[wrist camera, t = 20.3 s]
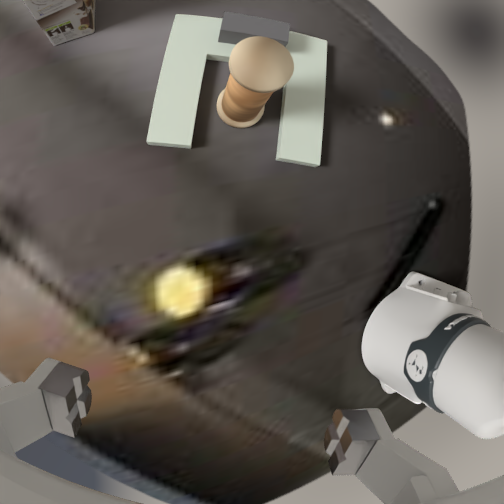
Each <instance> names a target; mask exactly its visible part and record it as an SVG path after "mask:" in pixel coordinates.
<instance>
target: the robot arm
mask: <svg viewBox="0 0 504 504" xmlns="http://www.w3.org/2000/svg"><path fill="white" fill-rule="evenodd" d="M419 281H420V284H419ZM362 357H363V360H364V363H365V365H366V367H367V369H368V370H369V371H370V372H371V373H372V374H373V375H374V376H376V377H377V378H378V379H379V380H380V383H381V386H382V388H383V390H384V391H385V392H387V393H394V392H397V393H399V394H401V395H402V396H404V397H406V398H407V399H409V400H411V401H412V402H414V403H416V404H420V403H422V402H423V403H424V404H425V405H426V406H428V407H429V408H431V409H434V410H435V411H437V412H439V413H445V414H447V415H448V416H449V417H451V418H452V419H454V420H455V421H456V422H458V423H459V424H460V425H462V426H463V427H465V428H466V429H467V430H469V431H470V432H472V433H473V434H474V435H476V436H477V437H479V438H482V439H492V438H496V437H499V436H501V435H503V434H504V332H503V331H501V330H498V329H495V328H492V327H491V326H490V325H489V324H488V323H487V322H486V321H484V320H483V315H482V312H481V310H479V309H476V308H473V307H472V298H471V295H470V293H468V292H466V291H464V290H462V289H459V288H457V287H454V286H451V285H449V284H446V283H444V282H441V281H438V280H436V279H433V278H431V277H428V276H425V275H423V274H420V273H417V272H414V271H413V272H410V273H409V274H408V275H407V276H406V278H405V279H404V281H403V282H402V284H401V285H400V287H399V288H398V289H396V290H395V291H394V292H392V293H391V294H389V295H388V296H387V297H386V298H384V299H383V300H382V301H381V302H380V303H379V305H378V306H377V307H376V308H375V310H374V311H373V313H372V314H371V316H370V318H369V320H368V322H367V325H366V327H365V330H364V334H363V338H362ZM89 381H90V379H89V373H88V371H86V370H84V369H81V368H78V367H75V366H72V365H69V364H66V363H63V362H60V361H57V360H54V359H51V358H46V359H45V360H44V361H43V362H42V363H41V365H40V366H39V367H38V368H37V369H36V370H35V371H34V372H33V374H32V375H31V376H30V377H29V378H28V379H27V381H26V382H25V383H24V382H18V383H15V384H12V385H8V386H5V387H2V388H0V504H142V503H138V502H133V501H130V500H126V499H122V498H119V497H115V496H112V495H108V494H105V493H102V492H99V491H96V490H92V489H90V488H87V487H83V486H81V485H78V484H76V483H73V482H70V481H67V480H65V479H62V478H60V477H57V476H55V475H52V474H50V473H48V472H45V471H43V470H41V469H39V468H37V467H34V466H32V465H30V464H28V463H26V462H24V461H22V460H20V459H18V458H17V456H16V454H15V452H16V451H18V450H20V449H22V448H24V447H25V446H27V445H29V444H31V443H33V442H34V441H36V440H38V439H40V438H41V437H43V436H45V435H47V434H48V433H50V432H52V430H54V431H57V432H60V433H63V434H66V435H68V436H71V437H75V436H76V434H77V432H78V430H79V429H80V427H81V425H82V423H81V418H83V417H85V416H87V414H88V412H89V410H90V406H91V399H92V395H91V390H90V388H89V387H88V386H87V384H88V382H89ZM332 418H333V422H334V423H332V424H331V425H329V426H328V428H327V430H326V432H325V438H324V446H325V450H326V452H327V453H328V454H329V455H330V456H331V457H330V459H329V461H328V462H329V465H330V469H331V473H332V475H356V477H357V478H358V479H359V480H360V481H361V482H362V483H363V484H364V485H365V486H366V487H367V488H368V489H369V490H370V491H371V492H372V493H373V494H375V495H376V496H377V497H378V498H379V499H380V500H381V501H382V502H383V503H384V504H504V475H502V476H500V477H498V478H495V479H493V480H490V481H488V482H485V483H483V484H480V485H477V486H475V487H473V488H469V489H466V490H463V491H461V492H459V490H458V488H457V486H456V485H455V483H454V481H453V480H452V477H451V476H450V474H449V472H448V471H447V469H446V468H444V467H443V466H441V465H439V464H437V463H436V462H435V461H433V460H431V459H430V458H428V457H426V456H425V455H423V454H422V453H420V452H419V451H417V450H415V449H414V448H412V447H411V446H409V445H408V444H406V443H404V442H403V441H401V440H400V439H395V438H394V436H393V434H392V432H391V430H390V428H389V426H388V424H387V422H386V420H385V419H384V417H383V415H382V413H381V411H380V410H379V409H378V408H369V409H337V410H336V411H335V412H334V414H333V417H332Z"/></svg>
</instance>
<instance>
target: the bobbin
mask: <svg viewBox="0 0 504 504" xmlns="http://www.w3.org/2000/svg"><path fill="white" fill-rule="evenodd" d="M229 69H230V72H231V73H230V76H229V79H228V82H227V86H226V88H225V89H224V90H223V91H222V92H221V93H220V95H219V97H218V100H217V112H218V115H219V117H220V118H221V119H222V120H223V121H224V122H225V123H226V124H228V125H229V126H231V127H235V128H247V127H250V126H252V125H254V124H256V123H257V122H258V121H259V119H260V118H261V117H262V115H263V113H264V108H265V103H266V102H267V101H268V99H269V98H270V96H271V95H272V93H273V92H274V91H277V90H279V89H281V88H282V87H284V86H285V85H286V84H287V82H288V81H289V80H290V78H291V77H292V75H293V72H294V62H293V58H292V56H291V54H290V52H289V51H288V50H287V49H286V48H285V47H284V46H283V45H282V44H281V43H279V42H278V41H276V40H274V39H271V38H267V37H262V36H254V37H249V38H246V39H244V40H242V41H240V42H239V43H237V44H236V45H235V47H234V48H233V50H232V52H231V55H230V58H229Z"/></svg>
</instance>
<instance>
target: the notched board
mask: <svg viewBox="0 0 504 504" xmlns="http://www.w3.org/2000/svg"><path fill="white" fill-rule="evenodd" d="M254 36H262V37H267V38H271V39H274V40H276V41H278V42H279V43H281V44H282V45H283V46H284V47H285V48H286V49H287V50H288V51H289V52H290V54H291V56H292V58H293V62H294V72H293V75H292V77H291V78H290V80H289V81H288V82H287V84H286V85H285V86H284V87H283V97H282V107H281V117H280V126H279V136H278V146H277V155H276V160H278V161H284V162H290V163H296V164H301V165H307V166H312V167H317V166H319V165H320V159H321V147H322V134H323V119H324V103H325V85H326V62H327V41H326V40H322V39H319V38H315V37H311V36H308V35H304V34H300V33H296V32H292V31H290V24H289V23H285V22H281V21H276V20H271V19H267V18H261V17H256V16H251V15H245V14H239V13H232V12H225V11H224V14H223V19H222V18H214V17H205V16H195V15H183V14H176V16H175V19H174V23H173V26H172V30H171V33H170V37H169V41H168V45H167V48H166V52H165V56H164V60H163V64H162V68H161V73H160V77H159V81H158V86H157V90H156V95H155V100H154V105H153V110H152V115H151V120H150V125H149V131H148V136H147V143H148V145H158V146H169V147H180V148H190V149H191V145H192V138H193V131H194V125H195V119H196V113H197V107H198V101H199V95H200V90H201V84H202V79H203V74H204V69H205V63H206V59H207V60H216V61H223V62H229V58H230V55H231V52H232V50H233V48H234V47H235V45H236V44H237V43H239V42H240V41H242V40H244V39H246V38H249V37H254Z"/></svg>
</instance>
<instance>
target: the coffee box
mask: <svg viewBox="0 0 504 504" xmlns="http://www.w3.org/2000/svg"><path fill="white" fill-rule="evenodd" d="M22 1H23V2H24V4H25V5H26V7H27V8H28V10H29V11H30V13H31V14H32V15H33V17H34V18H35V20H36V21H37V23H38V24H39V25H40V27H41V28H42V30H43V31H44V32H45V34H46V35H47V37H48V38H49V40H50V41H51V42H52V44H53V45H54V46H55V45H58V44H61V43H64V42H67V41H70V40H73V39H76V38H79V37H82V36H86V35H89V34H92V33H94V31H95V0H22Z"/></svg>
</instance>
